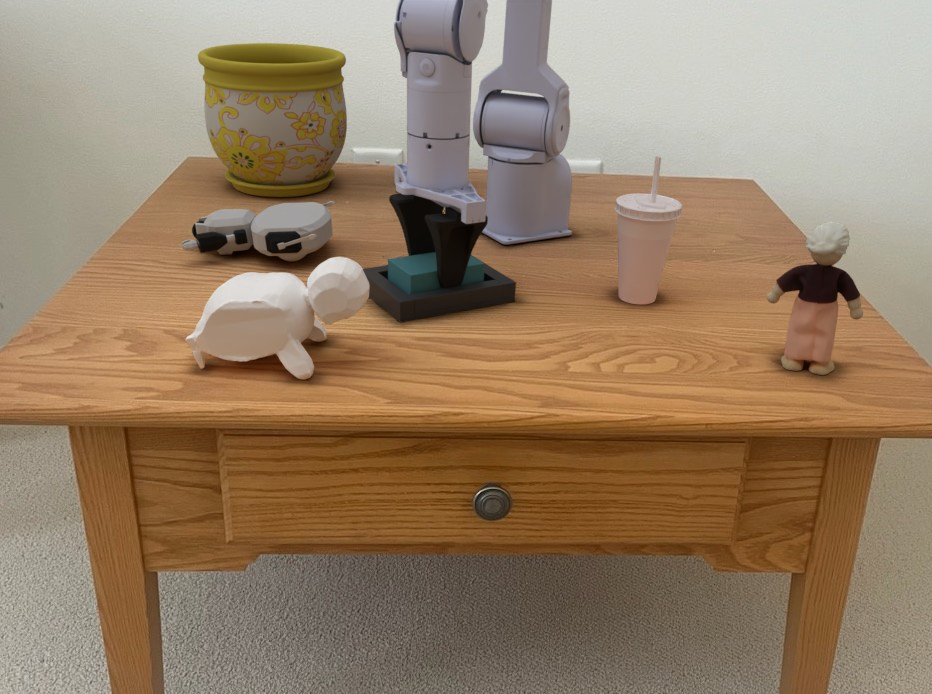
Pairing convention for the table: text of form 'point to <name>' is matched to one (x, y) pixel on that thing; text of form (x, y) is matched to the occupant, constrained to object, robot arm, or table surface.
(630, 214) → the smoothie
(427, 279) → the teal rectangular block
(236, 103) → the flowerpot
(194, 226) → the robot toy
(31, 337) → the table surface
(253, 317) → the white turtle figure
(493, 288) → the mount
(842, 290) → the grandmother figurine
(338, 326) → the table surface
